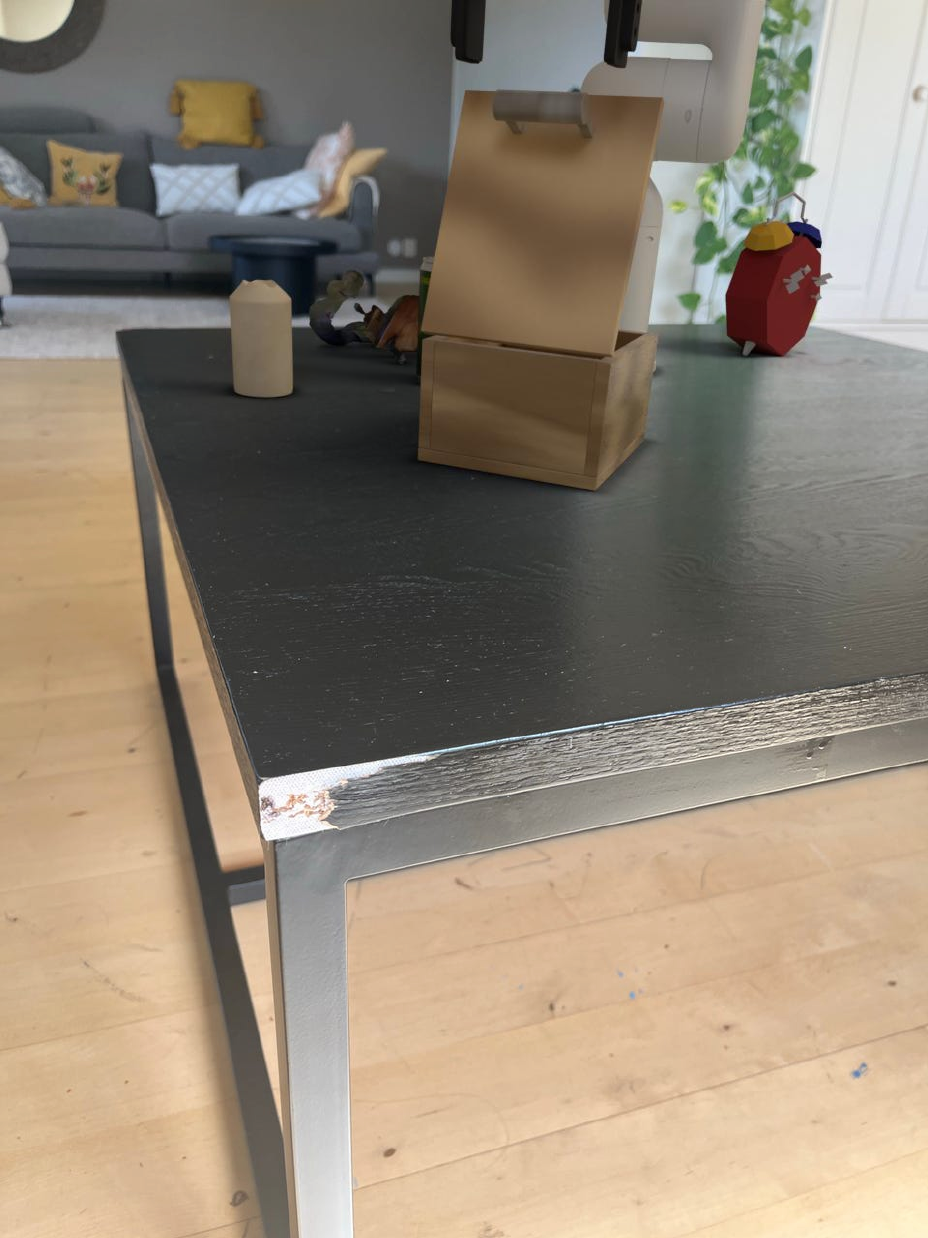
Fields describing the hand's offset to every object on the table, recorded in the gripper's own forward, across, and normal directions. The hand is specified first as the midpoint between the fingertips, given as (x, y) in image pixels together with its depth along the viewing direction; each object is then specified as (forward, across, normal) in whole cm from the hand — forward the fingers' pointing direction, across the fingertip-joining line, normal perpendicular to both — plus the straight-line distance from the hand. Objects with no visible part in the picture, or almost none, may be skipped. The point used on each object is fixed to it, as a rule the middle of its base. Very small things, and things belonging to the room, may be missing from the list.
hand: (540, 63), depth 60 cm
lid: (+9, 0, -2) cm, 10 cm away
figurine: (+27, +29, -37) cm, 54 cm away
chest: (+27, 0, -7) cm, 27 cm away
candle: (+27, +29, -12) cm, 41 cm away
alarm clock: (+28, -12, -72) cm, 78 cm away
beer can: (+27, +17, -27) cm, 42 cm away
